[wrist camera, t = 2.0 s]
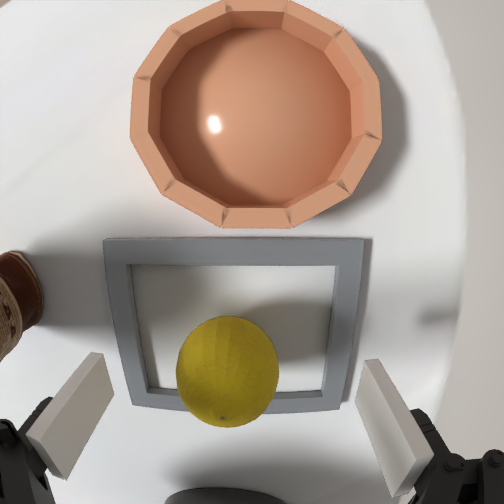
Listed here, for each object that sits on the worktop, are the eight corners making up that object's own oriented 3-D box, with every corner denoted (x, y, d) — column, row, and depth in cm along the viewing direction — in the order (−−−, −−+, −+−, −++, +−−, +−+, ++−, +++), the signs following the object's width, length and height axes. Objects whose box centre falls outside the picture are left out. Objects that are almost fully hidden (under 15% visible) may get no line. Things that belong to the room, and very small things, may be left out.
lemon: (204, 373, 20) (185, 457, 13) (180, 305, 19) (142, 377, 11) (280, 360, 20) (293, 446, 12) (264, 288, 19) (273, 358, 11)
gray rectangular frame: (337, 403, 21) (339, 409, 20) (135, 398, 21) (132, 404, 20) (360, 238, 18) (364, 240, 17) (108, 238, 18) (102, 240, 17)
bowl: (360, 222, 18) (379, 230, 15) (149, 221, 18) (131, 229, 15) (355, 31, 15) (370, 11, 12) (156, 29, 15) (142, 8, 12)
